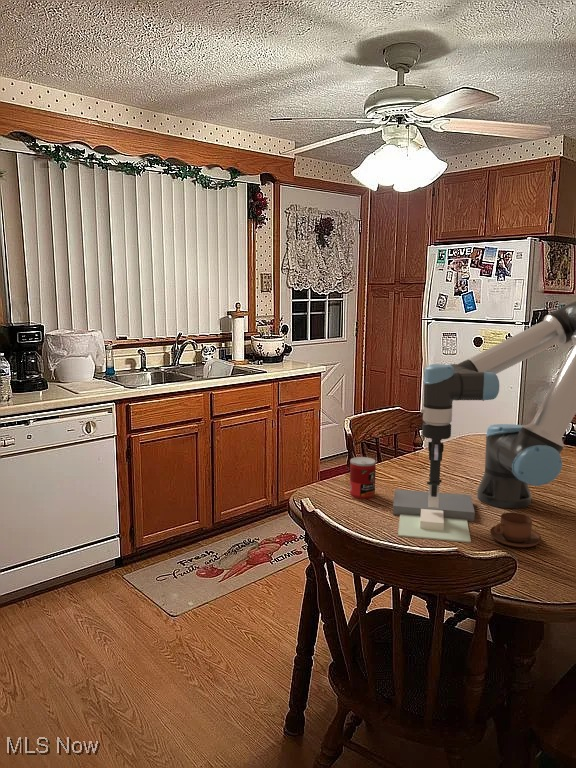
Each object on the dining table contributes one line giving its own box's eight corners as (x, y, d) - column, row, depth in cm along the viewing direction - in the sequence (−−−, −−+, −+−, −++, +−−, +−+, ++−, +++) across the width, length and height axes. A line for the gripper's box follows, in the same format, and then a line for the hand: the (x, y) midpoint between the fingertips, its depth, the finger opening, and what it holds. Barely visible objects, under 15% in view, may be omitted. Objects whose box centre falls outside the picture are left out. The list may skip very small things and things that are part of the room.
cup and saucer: (522, 556, 138) (524, 531, 137) (480, 538, 148) (481, 516, 147) (550, 543, 145) (552, 520, 144) (507, 527, 154) (509, 505, 153)
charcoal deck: (470, 502, 172) (470, 494, 171) (474, 521, 158) (474, 512, 158) (395, 497, 177) (395, 489, 176) (392, 514, 163) (393, 505, 163)
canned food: (363, 501, 174) (363, 465, 172) (344, 494, 180) (344, 459, 178) (380, 495, 178) (381, 460, 177) (361, 488, 184) (362, 455, 183)
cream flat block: (420, 515, 161) (420, 508, 161) (442, 517, 160) (443, 510, 160) (420, 528, 153) (420, 521, 152) (443, 530, 151) (443, 523, 151)
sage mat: (466, 521, 158) (466, 519, 158) (470, 542, 145) (470, 541, 145) (399, 515, 162) (400, 514, 162) (397, 536, 149) (397, 534, 149)
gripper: (422, 416, 162) (419, 497, 166) (422, 427, 149) (418, 513, 153) (450, 417, 160) (446, 499, 164) (452, 428, 148) (448, 516, 151)
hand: (433, 506), depth 159 cm, fingers closed
